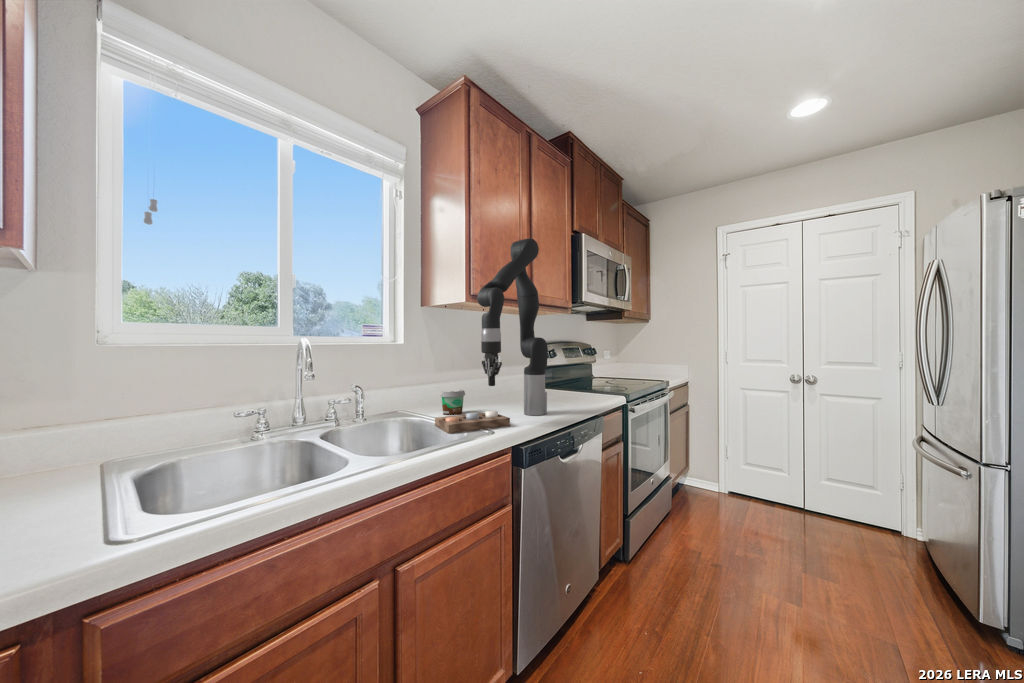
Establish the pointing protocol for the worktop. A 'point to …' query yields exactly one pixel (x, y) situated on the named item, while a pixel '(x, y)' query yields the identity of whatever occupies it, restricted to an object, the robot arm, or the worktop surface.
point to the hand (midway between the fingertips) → (491, 385)
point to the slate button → (472, 416)
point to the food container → (452, 402)
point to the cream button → (491, 414)
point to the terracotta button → (451, 419)
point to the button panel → (471, 423)
